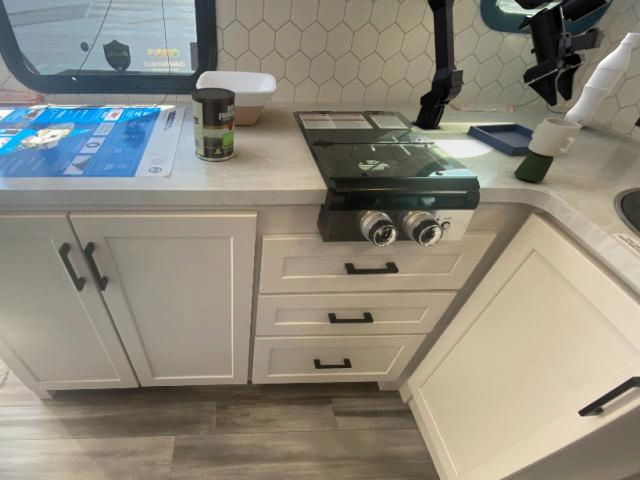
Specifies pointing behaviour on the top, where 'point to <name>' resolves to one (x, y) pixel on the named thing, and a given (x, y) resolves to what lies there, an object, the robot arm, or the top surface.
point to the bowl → (242, 91)
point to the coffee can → (213, 123)
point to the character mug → (547, 147)
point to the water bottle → (602, 81)
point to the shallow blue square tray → (504, 137)
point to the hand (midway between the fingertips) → (561, 102)
